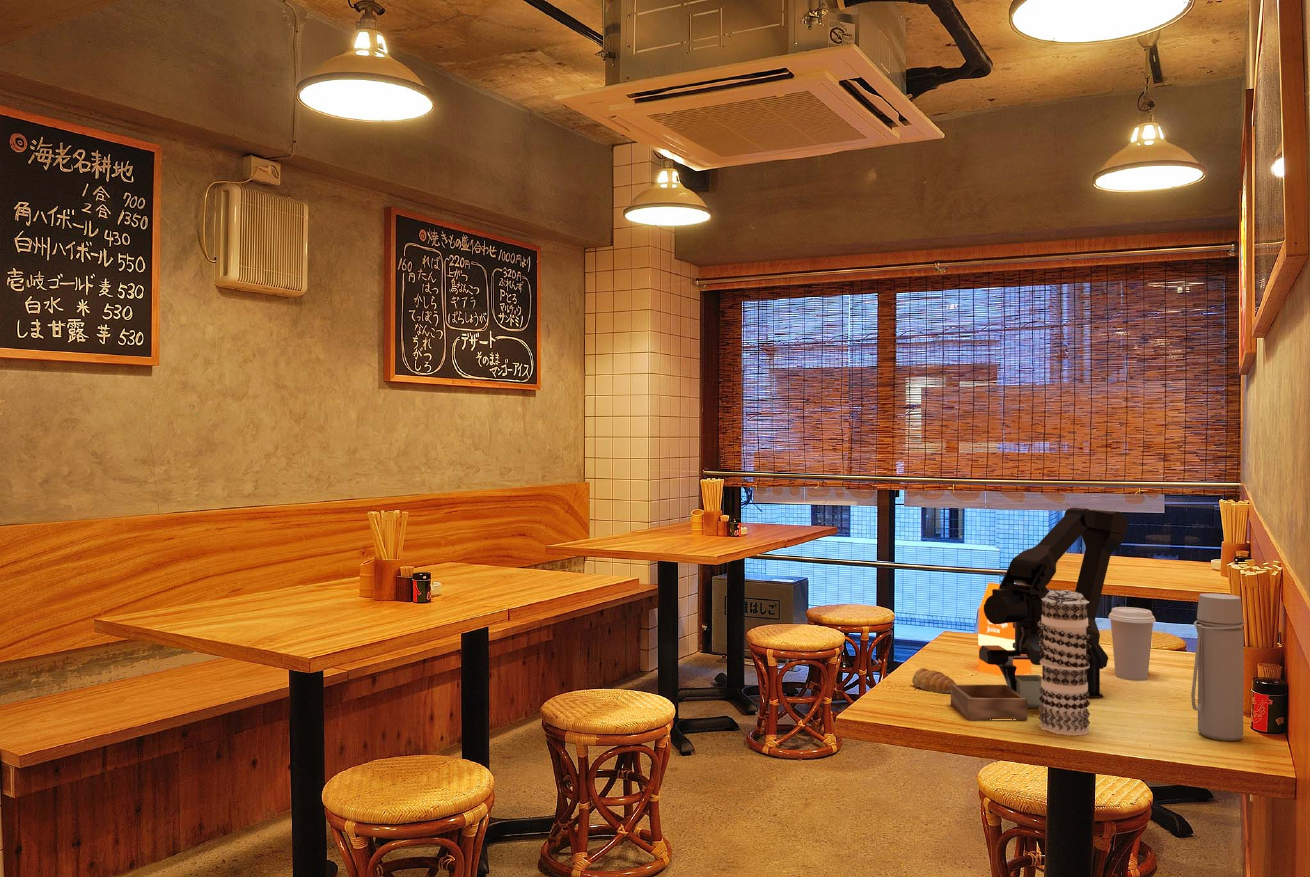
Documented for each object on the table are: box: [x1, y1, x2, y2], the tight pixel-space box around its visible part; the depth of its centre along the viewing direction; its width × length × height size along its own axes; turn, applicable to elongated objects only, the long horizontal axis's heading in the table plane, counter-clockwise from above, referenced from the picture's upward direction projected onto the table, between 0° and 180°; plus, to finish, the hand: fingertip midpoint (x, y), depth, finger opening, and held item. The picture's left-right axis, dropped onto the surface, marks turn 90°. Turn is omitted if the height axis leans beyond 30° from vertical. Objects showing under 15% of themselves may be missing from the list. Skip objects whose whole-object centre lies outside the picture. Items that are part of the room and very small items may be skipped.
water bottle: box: [1190, 592, 1246, 742], centre depth 173 cm, size 9×8×25 cm
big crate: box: [950, 684, 1028, 721], centre depth 188 cm, size 11×11×4 cm
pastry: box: [911, 667, 958, 694], centre depth 206 cm, size 9×7×4 cm
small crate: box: [1015, 674, 1043, 709], centre depth 194 cm, size 6×6×5 cm
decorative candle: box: [1037, 589, 1093, 736], centre depth 177 cm, size 9×9×25 cm
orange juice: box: [977, 582, 1032, 676], centre depth 221 cm, size 8×9×20 cm
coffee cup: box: [1108, 606, 1157, 681], centre depth 217 cm, size 10×10×15 cm
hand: (1029, 698), depth 194 cm, fingers closed on small crate, 6 cm apart
